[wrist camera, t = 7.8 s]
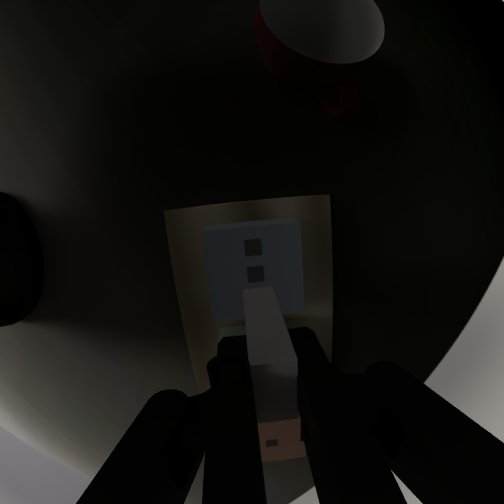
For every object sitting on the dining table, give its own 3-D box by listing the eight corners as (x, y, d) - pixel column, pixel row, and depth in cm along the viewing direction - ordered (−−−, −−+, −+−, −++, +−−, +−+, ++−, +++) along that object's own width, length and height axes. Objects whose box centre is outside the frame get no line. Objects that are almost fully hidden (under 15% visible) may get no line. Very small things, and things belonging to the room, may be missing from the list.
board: (213, 440, 32) (212, 455, 29) (166, 210, 25) (158, 213, 22) (324, 427, 32) (329, 441, 29) (326, 194, 25) (336, 196, 23)
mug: (369, 105, 23) (429, 76, 14) (298, 144, 24) (336, 124, 14) (305, 18, 21) (334, -42, 11) (232, 51, 22) (230, -11, 12)
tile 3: (216, 307, 25) (214, 321, 22) (205, 225, 24) (201, 232, 21) (297, 298, 25) (304, 312, 23) (293, 217, 24) (300, 222, 21)
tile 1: (240, 446, 29) (241, 464, 26) (232, 405, 27) (232, 425, 24) (301, 439, 29) (305, 456, 26) (301, 398, 27) (306, 416, 25)
